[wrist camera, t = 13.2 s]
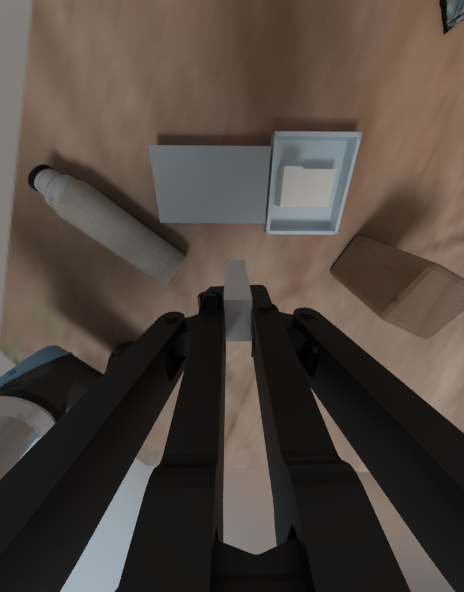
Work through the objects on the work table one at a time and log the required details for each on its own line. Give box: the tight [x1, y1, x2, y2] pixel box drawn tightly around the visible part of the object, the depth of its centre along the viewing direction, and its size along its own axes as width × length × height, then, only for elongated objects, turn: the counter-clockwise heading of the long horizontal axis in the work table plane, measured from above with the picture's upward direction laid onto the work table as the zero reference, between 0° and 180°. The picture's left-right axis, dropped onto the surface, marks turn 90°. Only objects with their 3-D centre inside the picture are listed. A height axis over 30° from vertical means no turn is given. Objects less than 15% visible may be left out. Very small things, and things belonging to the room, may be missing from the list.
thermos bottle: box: [28, 165, 186, 286], centre depth 39 cm, size 8×8×28 cm
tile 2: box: [274, 166, 303, 207], centre depth 36 cm, size 6×6×3 cm
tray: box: [264, 131, 363, 235], centre depth 38 cm, size 14×16×4 cm
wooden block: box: [330, 236, 464, 339], centre depth 38 cm, size 10×10×20 cm
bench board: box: [148, 145, 271, 224], centre depth 37 cm, size 20×12×4 cm, turn 90°
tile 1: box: [297, 169, 337, 207], centre depth 37 cm, size 6×6×3 cm
